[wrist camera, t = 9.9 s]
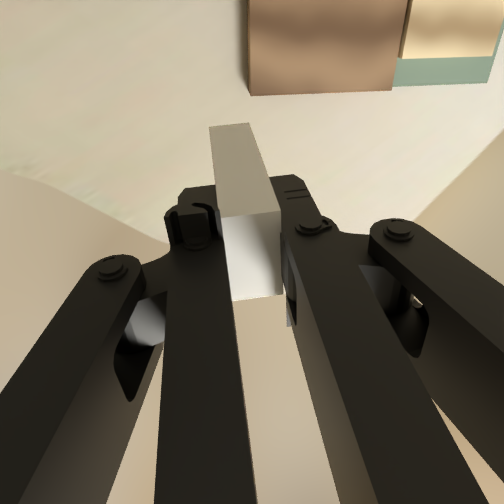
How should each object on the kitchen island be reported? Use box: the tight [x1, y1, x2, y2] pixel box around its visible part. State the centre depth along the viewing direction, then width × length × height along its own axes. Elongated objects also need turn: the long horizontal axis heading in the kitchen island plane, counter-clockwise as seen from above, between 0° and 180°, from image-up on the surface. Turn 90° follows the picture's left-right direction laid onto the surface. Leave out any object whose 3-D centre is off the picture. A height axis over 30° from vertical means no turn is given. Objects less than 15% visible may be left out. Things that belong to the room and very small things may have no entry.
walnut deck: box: [247, 0, 408, 96], centre depth 36 cm, size 12×14×2 cm
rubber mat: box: [392, 18, 504, 87], centre depth 38 cm, size 12×10×1 cm
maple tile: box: [398, 0, 504, 59], centre depth 37 cm, size 6×9×2 cm, turn 90°
